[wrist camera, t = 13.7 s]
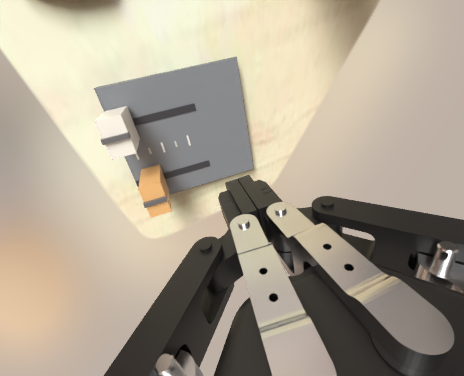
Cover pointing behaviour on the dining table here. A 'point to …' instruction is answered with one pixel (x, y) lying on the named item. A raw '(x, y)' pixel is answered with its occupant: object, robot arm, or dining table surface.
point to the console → (186, 123)
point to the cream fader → (118, 132)
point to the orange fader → (154, 191)
